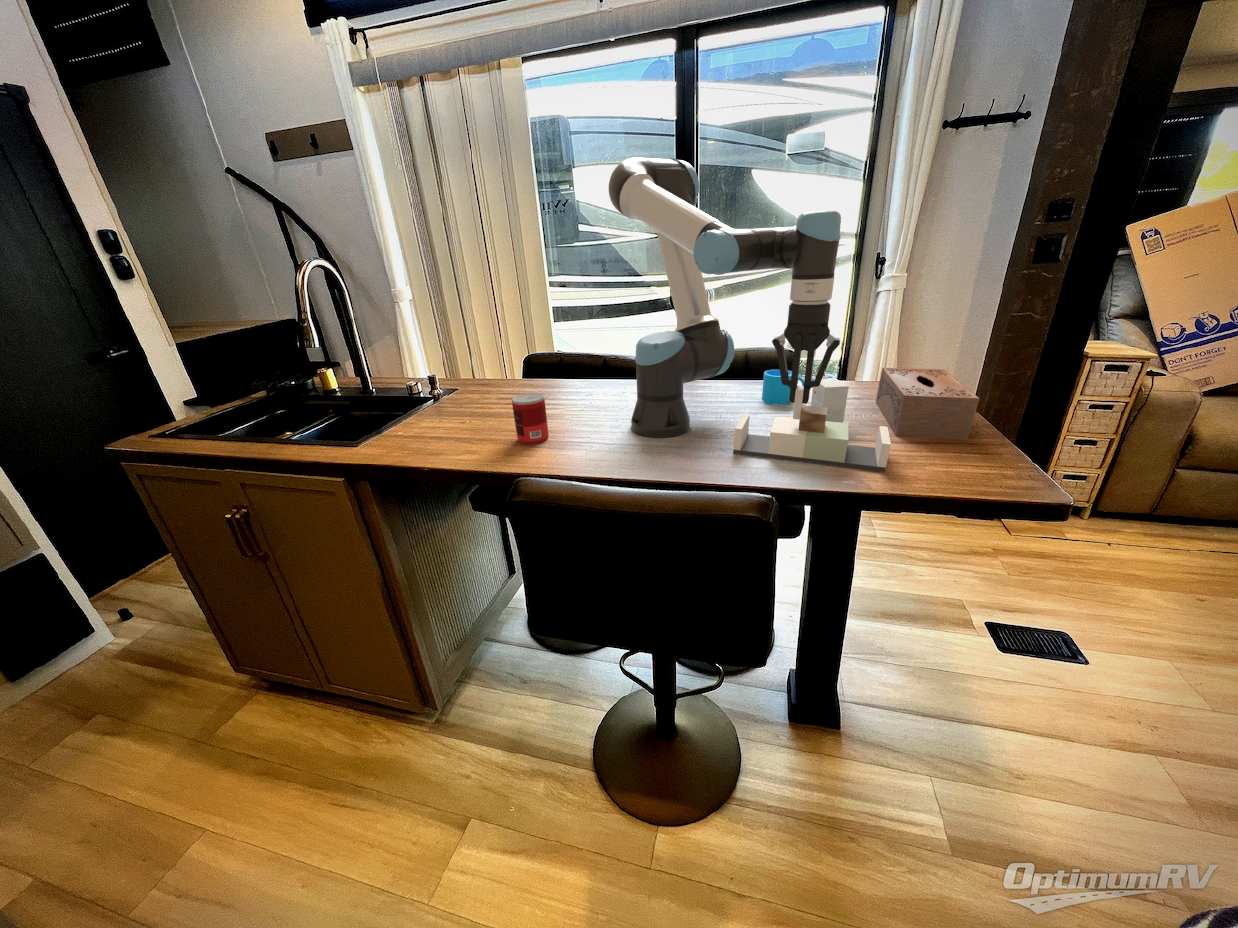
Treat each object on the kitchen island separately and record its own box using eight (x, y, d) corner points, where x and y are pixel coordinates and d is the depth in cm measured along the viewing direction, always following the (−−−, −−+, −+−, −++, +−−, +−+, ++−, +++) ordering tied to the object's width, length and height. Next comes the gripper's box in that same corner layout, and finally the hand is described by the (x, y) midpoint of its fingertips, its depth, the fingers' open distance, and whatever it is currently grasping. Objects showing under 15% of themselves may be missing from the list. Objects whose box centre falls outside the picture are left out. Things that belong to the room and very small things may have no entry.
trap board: (733, 453, 105) (734, 428, 102) (741, 437, 113) (743, 413, 110) (884, 472, 93) (890, 444, 91) (882, 452, 102) (887, 426, 99)
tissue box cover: (875, 403, 132) (882, 367, 128) (934, 405, 128) (943, 369, 123) (895, 436, 110) (904, 395, 105) (967, 441, 106) (979, 398, 101)
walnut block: (798, 430, 99) (800, 412, 98) (800, 422, 103) (802, 405, 102) (823, 433, 97) (826, 414, 96) (825, 424, 102) (827, 407, 100)
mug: (764, 405, 134) (766, 377, 130) (759, 396, 141) (761, 369, 138) (807, 404, 133) (811, 376, 129) (800, 396, 140) (803, 369, 137)
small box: (842, 428, 116) (849, 386, 111) (819, 428, 116) (825, 387, 111) (830, 417, 123) (836, 377, 118) (808, 417, 123) (813, 378, 119)
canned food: (554, 435, 120) (550, 393, 116) (537, 446, 114) (531, 403, 109) (530, 431, 123) (524, 391, 119) (511, 443, 117) (504, 400, 112)
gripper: (772, 304, 90) (762, 420, 100) (846, 304, 85) (829, 426, 95) (777, 300, 96) (768, 409, 106) (847, 299, 91) (830, 414, 101)
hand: (796, 417), depth 101 cm, fingers closed
